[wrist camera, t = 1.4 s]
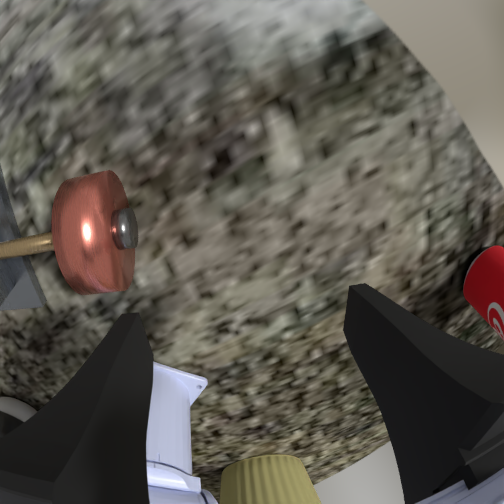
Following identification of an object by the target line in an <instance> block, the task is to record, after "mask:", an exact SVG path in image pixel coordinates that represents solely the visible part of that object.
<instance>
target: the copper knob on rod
mask: <svg viewBox="0 0 504 504" xmlns="http://www.w3.org/2000/svg"><path fill="white" fill-rule="evenodd" d="M137 244H138V227H137V221H136V217H135V214H134V212H133V210H132V208H129V204H128V200H127V197H126V194H125V191H124V188H123V186H122V183H121V181H120V180H119V178H118V176H117V175H116V174H115V173H114V172H113V171H110V170H108V171H103V172H98V173H94V174H89V175H84V176H80V177H76V178H71V179H67V180H66V181H64V182H63V183H62V184H61V186H60V187H59V189H58V191H57V193H56V196H55V199H54V204H53V210H52V232H48V233H43V234H38V235H33V236H28V237H23V238H18V239H14V240H9V241H4V242H0V260H3V259H8V258H14V257H19V256H25V255H31V254H36V253H42V252H48V251H55V255H56V259H57V262H58V265H59V267H60V270H61V272H62V274H63V276H64V278H65V280H66V281H67V283H68V284H69V286H70V287H71V288H72V289H73V290H74V291H75V292H77V293H78V294H81V295H89V294H98V293H107V292H116V291H124V290H127V289H128V288H129V286H130V284H131V282H132V279H133V274H134V266H135V248H136V247H137Z"/></svg>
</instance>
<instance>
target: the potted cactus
mask: <svg viewBox="0 0 504 504" xmlns="http://www.w3.org/2000/svg"><path fill="white" fill-rule="evenodd" d="M220 504H321V502H320V500H319V497H318V495H317V493H316V491H315V489H314V487H313V485H312V482H311V480H310V478H309V476H308V474H307V472H306V469H305V467H304V465H303V463H302V462H301V460H300V459H299V458H297V457H294V456H290V455H279V454H276V455H263V456H257V457H251V458H247V459H244V460H240V461H238V462H235V463H233V464H231V465H229V466H227V467H226V468H225V469H224V470H223V472H222V475H221V488H220Z"/></svg>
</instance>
